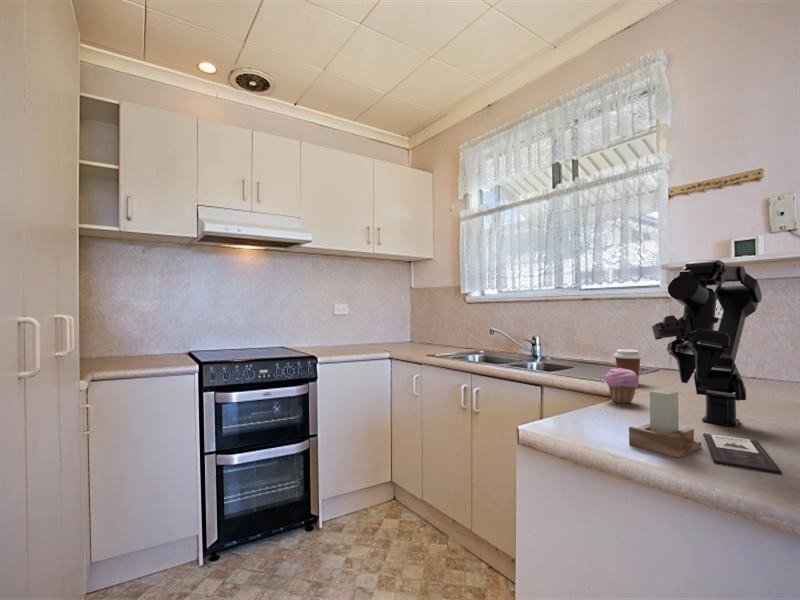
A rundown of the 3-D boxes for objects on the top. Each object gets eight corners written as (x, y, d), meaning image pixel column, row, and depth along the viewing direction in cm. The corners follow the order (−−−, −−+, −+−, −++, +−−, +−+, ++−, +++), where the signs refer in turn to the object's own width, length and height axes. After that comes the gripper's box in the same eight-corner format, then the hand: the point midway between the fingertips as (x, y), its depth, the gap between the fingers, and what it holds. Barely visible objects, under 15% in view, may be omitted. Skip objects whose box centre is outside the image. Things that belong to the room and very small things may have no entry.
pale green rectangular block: (660, 436, 84) (659, 389, 84) (678, 441, 81) (678, 392, 81) (650, 440, 82) (649, 391, 82) (669, 445, 79) (668, 394, 79)
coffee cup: (642, 386, 139) (642, 352, 139) (612, 384, 144) (612, 350, 144) (642, 382, 147) (642, 349, 147) (614, 380, 151) (614, 348, 151)
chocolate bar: (713, 460, 72) (703, 433, 87) (714, 465, 72) (703, 437, 87) (781, 471, 67) (757, 440, 83) (781, 477, 67) (757, 445, 83)
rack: (652, 435, 88) (652, 419, 88) (701, 447, 80) (701, 430, 80) (629, 444, 82) (629, 427, 82) (678, 458, 75) (678, 439, 75)
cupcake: (601, 398, 123) (600, 365, 123) (631, 399, 121) (631, 366, 121) (612, 405, 114) (611, 370, 114) (644, 406, 113) (644, 370, 113)
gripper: (647, 315, 102) (639, 376, 99) (671, 297, 85) (662, 369, 82) (699, 323, 98) (692, 387, 95) (735, 306, 81) (728, 382, 78)
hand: (691, 381), depth 88 cm, fingers open, 9 cm apart
